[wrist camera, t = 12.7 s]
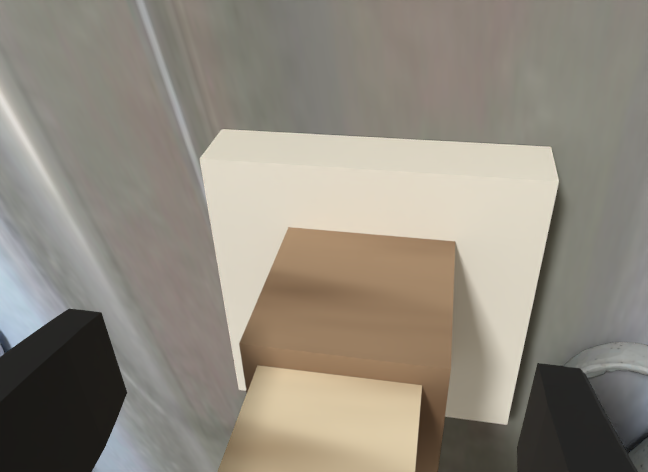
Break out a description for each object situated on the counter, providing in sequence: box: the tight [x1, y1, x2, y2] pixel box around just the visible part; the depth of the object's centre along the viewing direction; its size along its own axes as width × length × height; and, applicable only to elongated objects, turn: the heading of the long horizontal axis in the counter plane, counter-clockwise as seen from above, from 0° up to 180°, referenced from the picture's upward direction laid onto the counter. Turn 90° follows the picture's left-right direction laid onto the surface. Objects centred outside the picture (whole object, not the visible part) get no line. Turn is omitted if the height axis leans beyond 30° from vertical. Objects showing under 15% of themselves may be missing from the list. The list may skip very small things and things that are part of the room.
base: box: [200, 129, 559, 425], centre depth 21 cm, size 10×10×2 cm
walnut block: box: [239, 227, 455, 472], centre depth 18 cm, size 5×5×5 cm
